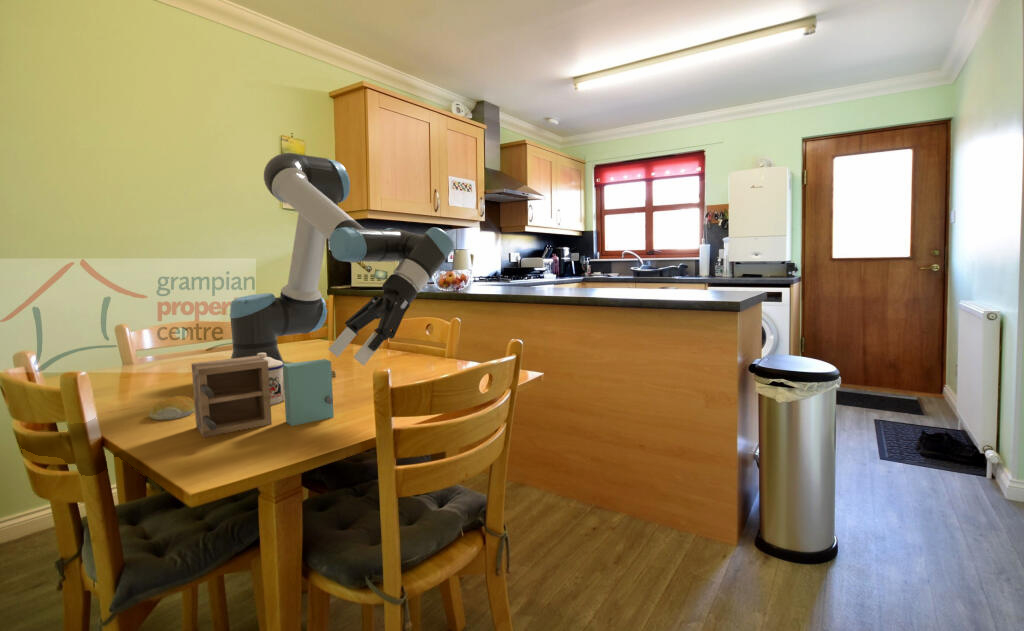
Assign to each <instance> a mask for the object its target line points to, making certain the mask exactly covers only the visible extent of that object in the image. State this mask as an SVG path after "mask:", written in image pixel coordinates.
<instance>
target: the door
mask: <svg viewBox="0 0 1024 631" xmlns="http://www.w3.org/2000/svg"><path fill="white" fill-rule="evenodd" d="M332 372H333V371H332V361H331V360H328V359H326V358H322V359H316V360H307V361H299V362H291V363H290V362H289V363H284V364H283V382H284V409H285V410H284V412H285V422H286V423H287V424H288V425H290V426H291V427H294V426H299V425H302V424H308V423H312V422H317V421H323V420H327V419H333V418H334V416H335V415H334V414H335V413H334V412H335V411H334V394H333V376H332V375H333V373H332Z"/></svg>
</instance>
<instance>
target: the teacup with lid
mask: <svg viewBox="0 0 1024 631" xmlns="http://www.w3.org/2000/svg"><path fill="white" fill-rule="evenodd" d="M257 356H259V357H261V358H263V359H265V360H267V361H268V372H269V388H270V404H271V406H273V405H277V404H280V403H281V402H283V401H285V395H284V379H283V362H282V361H279V360H275V359H273V358H271V357H266V353H258V354H257Z"/></svg>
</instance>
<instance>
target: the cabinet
mask: <svg viewBox="0 0 1024 631" xmlns="http://www.w3.org/2000/svg"><path fill="white" fill-rule="evenodd" d="M191 374H192V390H193V398H194V399H193V400H194V402H195V411H194V413H195V425H196V426H195V427H196V429H197V430H198V432H199V433H200V435H201V436H202V437H203V438H208V437H214V436H218V434H220V435H223V434H222V433H225V434H229V433H228V432H230V433H233V432H232V431H235V432H238V431H237V430H240V431H243V430H242V429H245V430H248V428H250V429H254V428H253V427H255V428H259V427H258V426H260V427H263V426H269V425H272V423H273V422H272V410H271V409H272V408H271V407H272V405H271V404H270V388H269V372H268V361H267V360H265V359H263V358H261V357H259V356H250V357H242V358H233V359H231V358H227V359H225V358H224V359H219V360H207V361H200V362H192V363H191Z"/></svg>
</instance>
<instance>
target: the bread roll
mask: <svg viewBox="0 0 1024 631" xmlns="http://www.w3.org/2000/svg"><path fill="white" fill-rule="evenodd" d="M193 413H195V402H194V399H192V398H191V397H189V396H185V395H175V396H172V397H168V398H166V399H163V400H161V401H159V402H158V403H157V402H156V404H155V405H153V406H152V407H151V408H150V410H149V414H148V415H149V417H150V419H152V420H155V421H167V420H168V421H170V420H177V419H182V418H184V417H189V416H190V415H192V414H193Z"/></svg>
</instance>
